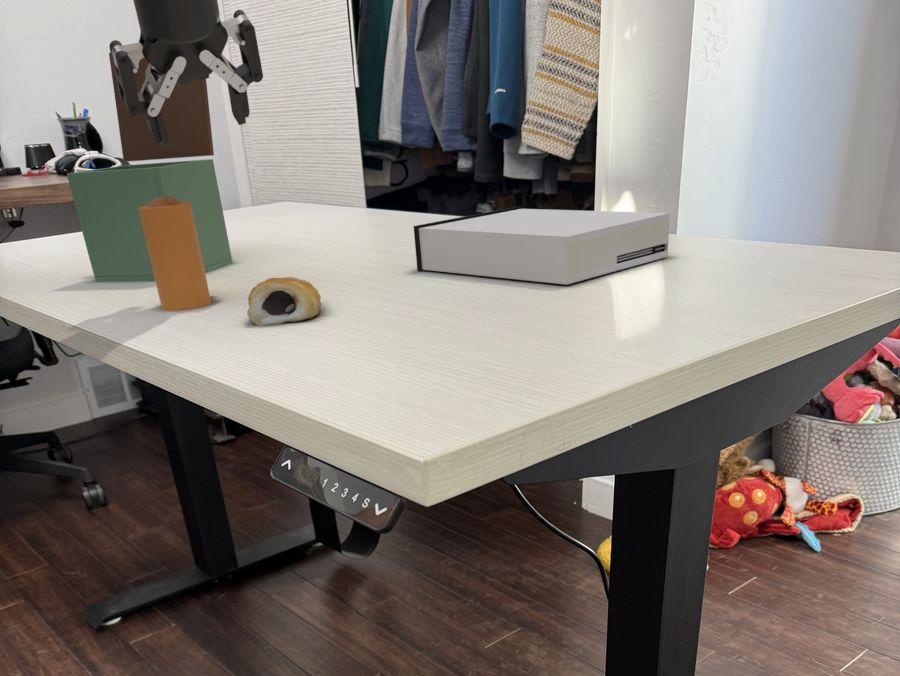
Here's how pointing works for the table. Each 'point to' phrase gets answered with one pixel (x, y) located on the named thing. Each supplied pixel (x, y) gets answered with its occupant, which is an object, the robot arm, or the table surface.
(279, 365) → the table surface
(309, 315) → the pastry
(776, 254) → the table surface
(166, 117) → the bin lid
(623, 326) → the table surface
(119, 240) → the bin
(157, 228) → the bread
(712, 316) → the table surface
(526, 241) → the disc drive
